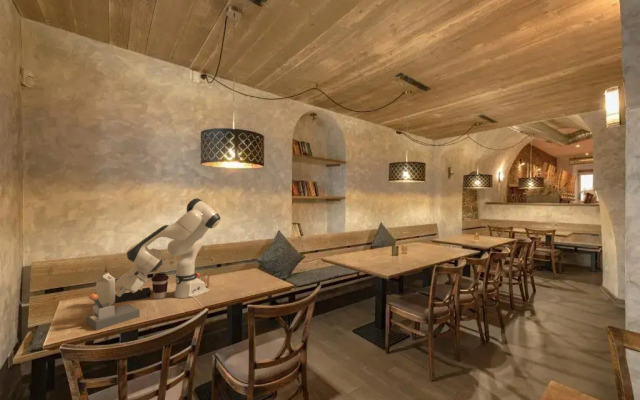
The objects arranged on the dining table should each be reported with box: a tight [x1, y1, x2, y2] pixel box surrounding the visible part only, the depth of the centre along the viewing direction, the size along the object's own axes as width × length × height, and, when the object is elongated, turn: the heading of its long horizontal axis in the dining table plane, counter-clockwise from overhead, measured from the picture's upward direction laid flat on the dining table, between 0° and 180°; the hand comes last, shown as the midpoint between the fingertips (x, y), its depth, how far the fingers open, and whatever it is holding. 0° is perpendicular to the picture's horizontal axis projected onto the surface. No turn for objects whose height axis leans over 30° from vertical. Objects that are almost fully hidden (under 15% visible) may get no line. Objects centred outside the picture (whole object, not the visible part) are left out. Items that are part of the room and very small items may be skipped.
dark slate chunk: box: [113, 286, 152, 304], centre depth 193 cm, size 15×22×5 cm
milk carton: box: [95, 272, 116, 306], centre depth 179 cm, size 7×7×19 cm
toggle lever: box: [88, 293, 104, 309], centre depth 152 cm, size 3×3×12 cm
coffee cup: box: [150, 273, 170, 300], centre depth 193 cm, size 10×10×15 cm
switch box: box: [85, 302, 141, 331], centre depth 158 cm, size 20×14×9 cm
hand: (117, 295), depth 160 cm, fingers closed
